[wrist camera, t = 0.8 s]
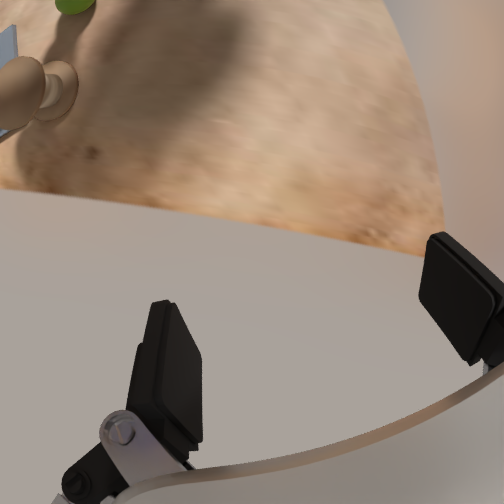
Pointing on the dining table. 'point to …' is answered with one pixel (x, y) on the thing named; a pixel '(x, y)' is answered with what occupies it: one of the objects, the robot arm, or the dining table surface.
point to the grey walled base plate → (7, 52)
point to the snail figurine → (73, 6)
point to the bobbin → (35, 91)
